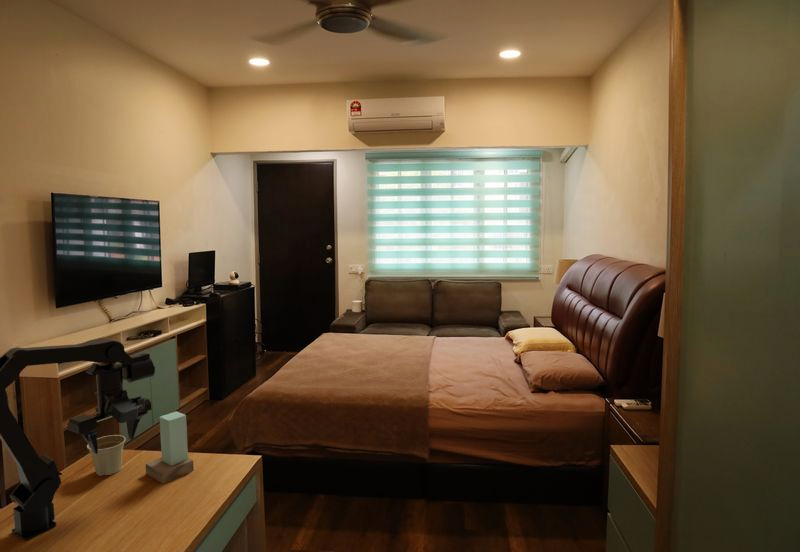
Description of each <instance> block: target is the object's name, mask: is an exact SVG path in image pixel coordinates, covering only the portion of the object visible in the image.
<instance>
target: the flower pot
mask: <svg viewBox="0 0 800 552" xmlns="http://www.w3.org/2000/svg"><path fill="white" fill-rule="evenodd" d="M126 439H127V438H126V437H125V436H124V435H121V434H112V435H111V434H110V435H105V436H101V437H97V445H98V453H97V454H95V453H93V451H92V449H91V448H90V446H89V445H88V444H87V445H86V448H87V450H88V451H89V453H90V455H91V458H92V462H93V466H94V471H95V474H96V475H97V476H99V477H103V476H111V475H114V474H116V473H118V472H119V471H120V470H121V469H122V464H123V463H122V462H123V461H122V460H123V452H124V451H123V450H124V445H125V442H126V441H127V440H126Z"/></svg>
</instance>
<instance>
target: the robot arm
mask: <svg viewBox="0 0 800 552" xmlns="http://www.w3.org/2000/svg"><path fill="white" fill-rule="evenodd" d="M72 362H74V363H75V362H89V363H90V362H91V363H92V365H91V366H90V367H89V368H88V369H87V370H85V373H86V374H89V375H91V376H95V378H96V390H97V391H94V397H96V398H97V407H95V412H96V413H97V414H95V415H89V414H86V413H83V414H81V415H77V416H75V417H71V418H70V419H69V420H68V421H67V423H66V425H67V427H66V428H67V431H69V432H72V433H75V434H77V435H81V436H82V438H83V439H84V440H85V442H86V443H87V445H89V446H90V448H91V449H92V451H93V453H95V454H97V453H98V445H97V439H98V437H97V434H98V433H99V429H97V427H98V423H101V422H103V421H106V420H109V419H112V418H114V420H116V421H117V423H119V424H124V423H125V424H126V429H127V435H128V439H129V440H131V441H132V440H134V437H135V434H136V431H137V428H138V426H139V422H140V421H141V419H142V418H143V417H144V416H145V415H147V414H148V413H149V411H151V410H153V402H152V400H150V398H147V397H143V396H142V395H140V396H136V397H132V398H129V396H128V392H127V390H126V389H124V380H125V381H126V382H128V383H135V382H139V381H142V380H146V379H150V378H153V377H154V376H155V372H156V369H155V368H156V367H155V366H154V363H153V362H154V361H153V360H152V358H151V356H150V353H147V352H143V353H139V354H137V355H132V356H130V355H129V354H128V353H127V352H126V350H125V346H124V344H123V343H122V342H121V341H119V340H116V339H112V338H110V337H109V338H108V337H100V338H99V337H98V338H95V339H90V340H87V341H84V342H82V343H78V344H77V343H76V344H63V345H62V344H61V345H49V346H31V347H21V346H20V347H19V346H16V347H12V348H10V349H9V350H8V351H6V352H5V353H4V354H3V355H1V356H0V441H1V442H2V444H3V445H4V447H5V448H6V450H7V451H8V453H9V454H10V456H11V458H12V460H13V461H14V462H15V464H16V468H17V475H18V478H19V481H20V482H19V484H18V485H17V486H16V487H15V488H14V490H13V491H12V492H11V493H10V495H9V498H10V499H11V501H12V502H13V503H14V504H16V505H17V506H15V507H13V508H12V510H13V511H12V512H13V520H14V528H12V530H11V533H12V534H13V535H16V536H17V537H18V538H20V539H22V540H24V541H28V540H29V539H32V538H34V537H35V536H38V535H39V534H41V533H44V532H46V531H48V530H50V529H52V528H54V527H56V526H57V525H58V524H57V522H56V521H54V520H55V519H56V517H55V504H54V503H53V500H54V497H55V493H56V492H58V489H59V488H60V486H61V484H62V480H61V479H62V478H61V477H60V476H62V475H63V473H62V472H61V471H59V470H58V468H57V465H56V462H55V461H54V459H52V458H50V457H49V456H47V455H46V454H43V453H42V455H41V456H39V454H38V453H37V451H36V450H35V449H34V447H33V445H32V442H30V440H29V439H28V437H27V435H26V434H25V432H24V431H23V429H22V427H21V425H20V424H19V422H18V421H17V419H16V417H15V416H14V414H13V413H12V411H11V409H10V404H9V402H10V401H9V396H8V393H7V390H6V389H7V388H9V386H11V384H13V383H14V381H15V380H16V379H17V378H18V376H19V375H20V374H21V373H22V371H23V370H24V369H25V368H27V367H32V366H41V365H52V364H62V363H63V364H65V363H72ZM115 363H118V364H115Z"/></svg>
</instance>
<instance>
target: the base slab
mask: <svg viewBox="0 0 800 552" xmlns="http://www.w3.org/2000/svg"><path fill="white" fill-rule="evenodd" d="M193 471H194V460H193V459H192V458H189V457H188V459H187V460H184V461H182V462H179V463H177V464H174V465H172V466H171V465H169V464H167V463H165V462H163V461H162V457H159V458H157V459H155V460H152V461H149V462H146V463H145V475H147V476H148V477H151V478H152V479H154V480H155V481H157V482H159V483H161V484H165V483H168V482H170V481H172V480H174V479H175V480H176V479H177V478H179V477H182V476H184V475H186V474H188V473H191V472H193Z"/></svg>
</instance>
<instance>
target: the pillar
mask: <svg viewBox="0 0 800 552" xmlns="http://www.w3.org/2000/svg"><path fill="white" fill-rule="evenodd" d="M187 427H188V425H187V415H186V414H185V413H181V412H180V411H173V412H170V413H167V414H164V415H160V416H159V430H160V431H159V434H160V451H161V452H160V453H161V458H162V461H163V462H165V463H167V464H169V465H171V466H172V465H174V464H177V463H179V462H182V461H184V460H187V459H188V458H189V455H188V454H189V449H188V432H187V431H188V429H187Z"/></svg>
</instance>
